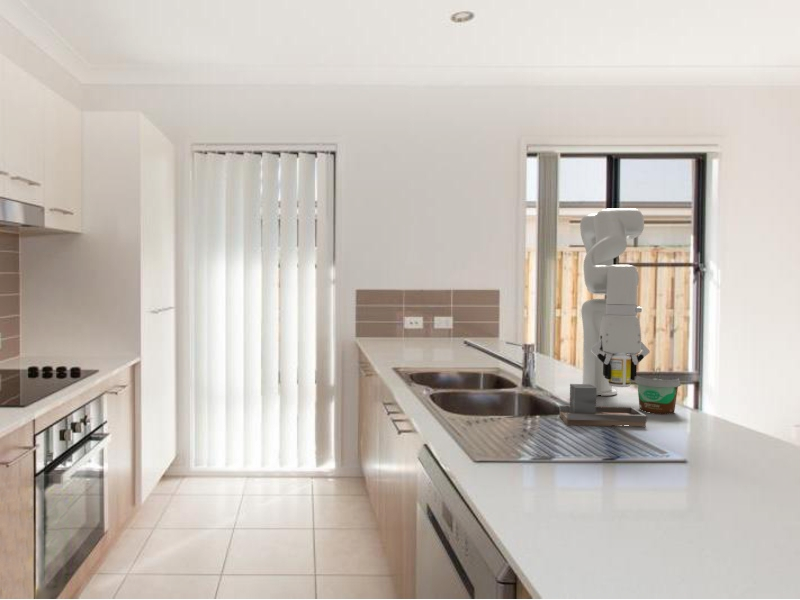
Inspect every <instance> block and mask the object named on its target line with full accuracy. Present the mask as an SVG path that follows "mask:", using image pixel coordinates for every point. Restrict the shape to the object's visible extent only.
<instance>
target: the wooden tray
mask: <svg viewBox="0 0 800 600" xmlns="http://www.w3.org/2000/svg"><path fill="white" fill-rule="evenodd" d="M558 409H559V417H560V418H561V419H562V420H563V422H564V423H565V424H566V425H567V426H588V427H589V426H590V427H591V426H592V427H596V426H597V427H612V426H611V425H615V426H614V427H618V426H617V425H622V426H621V427H625V426H624V425H629V426H645V427H644V428H646V427H647V421H648V420H647V419H648V418H647V417H648V416H647V414H644V413H643V412H642V411H641V410H640V411H639V410H638V409H637V408H635V407H634V406H612V405H611V406H609V405H607V406H605V405H602V406H601V405H597V395H596V387H594V386H593V385H591V384H583V383H570V384H569V404H568V405H565V404H564V405H563V404H561V405H559V407H558Z"/></svg>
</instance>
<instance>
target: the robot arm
mask: <svg viewBox="0 0 800 600" xmlns="http://www.w3.org/2000/svg"><path fill="white" fill-rule="evenodd" d="M644 219H645V218H644V216H643V214H642V212H641V211H640V210H639V209H637V208H631V207H630V208H628V207H627V208H606V209H605V208H604V209H602V210H599V211H598V212H597V213H590V214H587V215H584V216H583V217H582V218H581V219H580V224H579V226H580V227H579V228H580V229H579V230H580V236H581V240H582V243H583V246H584V249H585V253H586V255H585V257H584V260H583V275H584V285H585V286H586V289H587V291H588V293H590V294H592V295H598V296H605V297H606V298H591V299H588V300H586V301H584V302H583V304H582V305H581V309H580V311H581V321H582V330H583V333H582V334H583V341H582V342H583V344H582V345H583V348H582V349H583V350H582V351H583V352H582V356H583V357H582V384H591V385H593V386H594V387H596V396H598V395H601V397H602V396H603V397H604V396H605V397H608V396H614V395H615V396H616V395H617V394H618V391H617V390H618V389H615V388H613V386H611V385H609V379H611V365H610V364H609V361H610V358H611V356H612V354H618V353H621V352H623V353H626V354H627V355H630V356H631V381H635V380H636V377H637V369H638V368H637V366H638V365H639V363H640V362H641V361H642V360H643V359H644V358H645V357H647V356H648V355H649V354H650V352H651V351H650V349H649V348H648V347H647V346H646V345H645V344H644V343H643V341H642V332H641V324H640V319H639V316H638V313H642V311H643V310H642V307H640V306H638V286H639V282H640V281H639V280H640V275H639V271H638V270H637V268H636V266H635V265H630V264H614V259H616V258H617V257H619V256H621V255H622V254H623V253H625V252H626V249H627V247H628V240H634V239H635V238H637V237H640V235H642V233H643V231H644V228H645V220H644Z"/></svg>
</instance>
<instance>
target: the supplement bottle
mask: <svg viewBox="0 0 800 600" xmlns="http://www.w3.org/2000/svg"><path fill="white" fill-rule="evenodd" d="M609 364H610V365H611V379H609V385H611V386H612V387H614V388H615V387H616V388H628V387H630V386H631V383H632V382H631V381H632V380H631V356H630V355H628V354H626V353H623V352H621V353H618V354H612V356H611V358H610V361H609Z"/></svg>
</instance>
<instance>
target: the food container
mask: <svg viewBox="0 0 800 600" xmlns="http://www.w3.org/2000/svg"><path fill="white" fill-rule="evenodd" d="M634 384H637V393H638V405H639V410H640V409H641V410H643V411H646V412H645V413H647V412H650V413H649V414H652V413H654V415H672V414H675V412H676V411H675V409H676V403H677V397H678V389H679V387H681V386H682V385H681V380H680V378H676V379H662V378H658V377H657V378H647V377H642V376H639V375H636V376H635V380H634ZM641 410H640V411H641ZM643 411H642V412H643Z"/></svg>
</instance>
